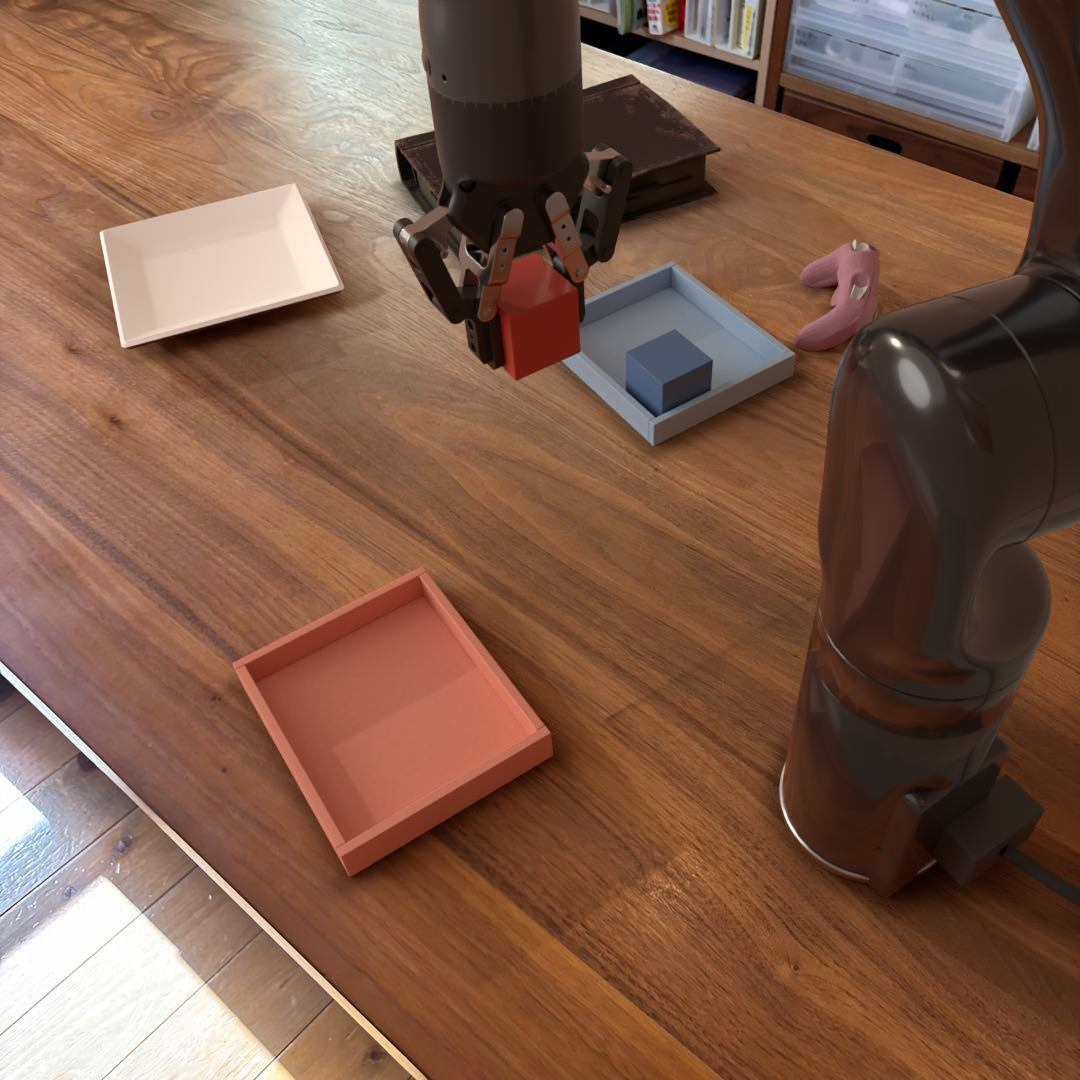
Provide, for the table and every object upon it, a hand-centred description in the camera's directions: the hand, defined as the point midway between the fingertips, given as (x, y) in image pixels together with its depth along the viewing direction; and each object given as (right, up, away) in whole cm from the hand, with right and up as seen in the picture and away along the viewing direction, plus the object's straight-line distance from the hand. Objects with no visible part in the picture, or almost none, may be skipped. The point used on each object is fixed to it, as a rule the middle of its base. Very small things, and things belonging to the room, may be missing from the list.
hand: (529, 343), depth 66 cm
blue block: (+10, -1, +18) cm, 20 cm away
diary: (+2, +21, +39) cm, 44 cm away
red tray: (-8, -22, +1) cm, 24 cm away
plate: (-28, +12, +33) cm, 45 cm away
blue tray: (+10, +2, +21) cm, 24 cm away
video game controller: (+24, +6, +24) cm, 34 cm away
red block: (0, 0, 0) cm, 0 cm away
